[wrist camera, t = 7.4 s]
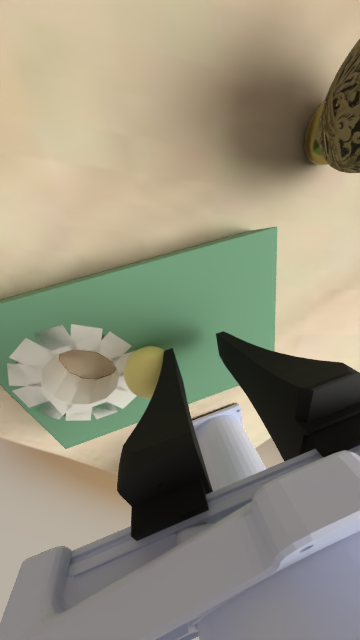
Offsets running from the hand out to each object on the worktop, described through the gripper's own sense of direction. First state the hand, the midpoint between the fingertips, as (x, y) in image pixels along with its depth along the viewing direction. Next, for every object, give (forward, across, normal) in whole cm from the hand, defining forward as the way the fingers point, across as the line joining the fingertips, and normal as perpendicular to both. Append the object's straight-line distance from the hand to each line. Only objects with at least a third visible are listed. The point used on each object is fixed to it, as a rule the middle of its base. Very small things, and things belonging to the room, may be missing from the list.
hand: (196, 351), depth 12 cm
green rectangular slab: (+5, +3, 0) cm, 6 cm away
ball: (0, +4, 0) cm, 4 cm away
